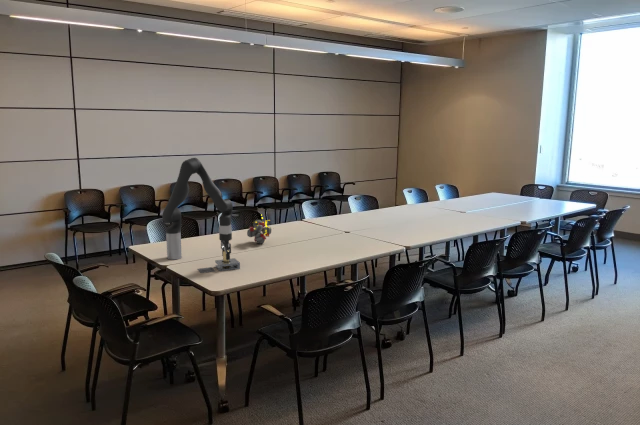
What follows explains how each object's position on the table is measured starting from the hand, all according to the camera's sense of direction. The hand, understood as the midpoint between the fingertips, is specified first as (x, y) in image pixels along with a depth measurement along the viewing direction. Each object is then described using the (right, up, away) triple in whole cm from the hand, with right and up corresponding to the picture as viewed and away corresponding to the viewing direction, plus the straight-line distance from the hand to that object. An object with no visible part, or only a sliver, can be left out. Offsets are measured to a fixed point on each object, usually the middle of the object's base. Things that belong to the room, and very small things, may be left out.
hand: (226, 257), depth 309 cm
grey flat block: (0, -7, +1) cm, 7 cm away
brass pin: (0, -7, +1) cm, 7 cm away
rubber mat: (-11, -7, -4) cm, 14 cm away
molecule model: (+13, +5, +66) cm, 67 cm away
